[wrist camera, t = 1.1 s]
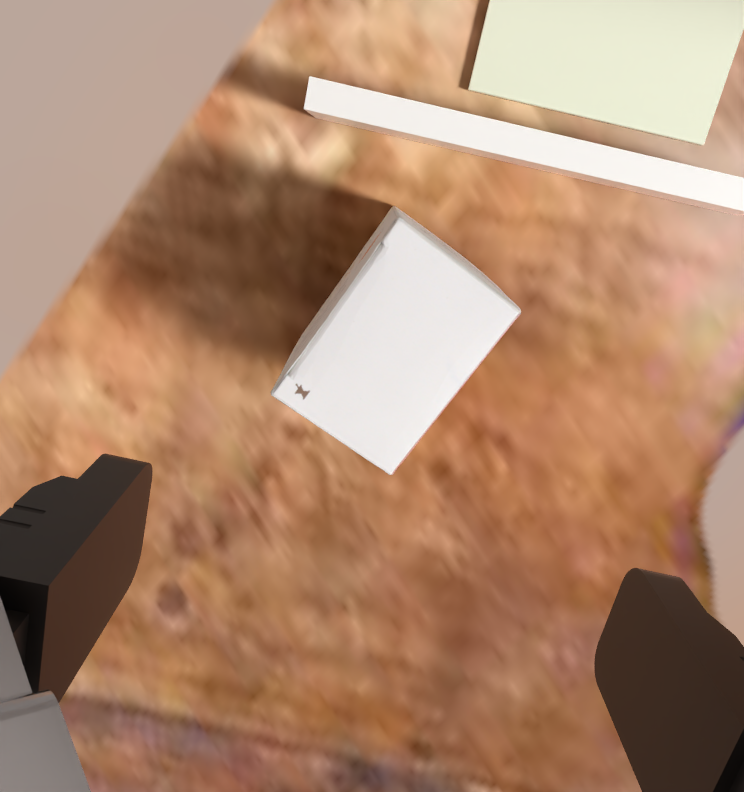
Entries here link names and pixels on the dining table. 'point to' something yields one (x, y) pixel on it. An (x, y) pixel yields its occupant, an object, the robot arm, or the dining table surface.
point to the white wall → (524, 146)
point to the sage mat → (613, 59)
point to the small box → (394, 342)
